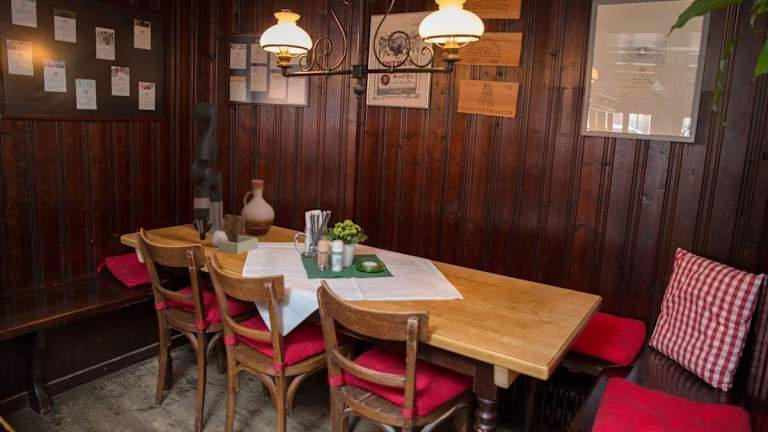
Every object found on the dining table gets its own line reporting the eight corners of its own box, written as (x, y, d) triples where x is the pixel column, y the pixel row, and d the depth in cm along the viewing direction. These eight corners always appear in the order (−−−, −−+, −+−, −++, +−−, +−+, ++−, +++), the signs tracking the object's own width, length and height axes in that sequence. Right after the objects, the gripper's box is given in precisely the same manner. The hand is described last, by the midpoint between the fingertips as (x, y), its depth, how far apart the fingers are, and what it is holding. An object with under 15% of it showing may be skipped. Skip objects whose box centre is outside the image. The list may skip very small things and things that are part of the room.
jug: (232, 234, 315) (231, 179, 310) (256, 229, 330) (255, 177, 324) (257, 239, 305) (257, 183, 299) (281, 234, 319) (281, 180, 314)
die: (231, 247, 289) (226, 230, 292) (225, 242, 281) (221, 224, 284) (216, 252, 289) (211, 235, 292) (210, 248, 280) (205, 230, 284)
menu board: (222, 241, 297) (221, 215, 294) (228, 240, 301) (228, 213, 299) (240, 244, 292) (240, 217, 289) (247, 242, 296) (247, 216, 294)
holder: (218, 251, 277) (218, 241, 277) (239, 245, 291) (239, 235, 290) (237, 254, 273) (237, 244, 272) (257, 247, 286) (257, 238, 285)
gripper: (217, 206, 288) (218, 240, 291) (197, 204, 294) (198, 237, 297) (206, 208, 282) (207, 243, 285) (186, 205, 287) (187, 239, 290)
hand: (202, 239), depth 291 cm, fingers closed
